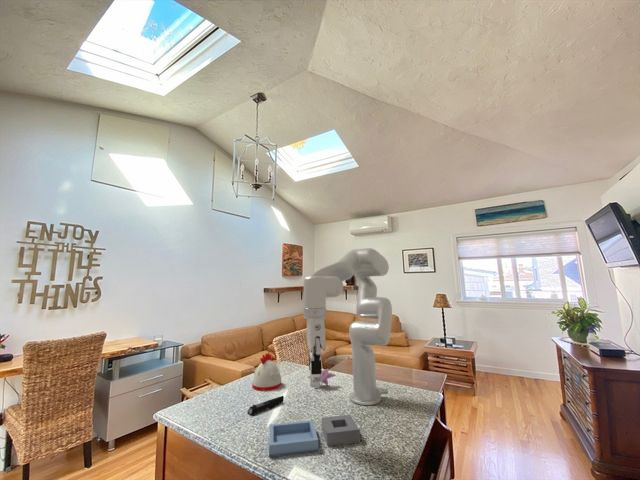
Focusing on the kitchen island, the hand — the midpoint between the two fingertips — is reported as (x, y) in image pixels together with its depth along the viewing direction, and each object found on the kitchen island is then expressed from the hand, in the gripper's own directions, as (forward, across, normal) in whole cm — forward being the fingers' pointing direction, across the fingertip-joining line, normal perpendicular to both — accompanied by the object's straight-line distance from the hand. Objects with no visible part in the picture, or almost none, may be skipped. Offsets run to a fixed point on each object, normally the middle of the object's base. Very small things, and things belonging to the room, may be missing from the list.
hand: (315, 371), depth 88 cm
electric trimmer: (+20, +27, +15) cm, 37 cm away
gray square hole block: (+20, +1, -8) cm, 21 cm away
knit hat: (+20, +52, +15) cm, 58 cm away
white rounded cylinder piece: (+4, 0, 0) cm, 4 cm away
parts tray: (+20, 0, +7) cm, 21 cm away
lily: (+19, +44, -11) cm, 49 cm away
